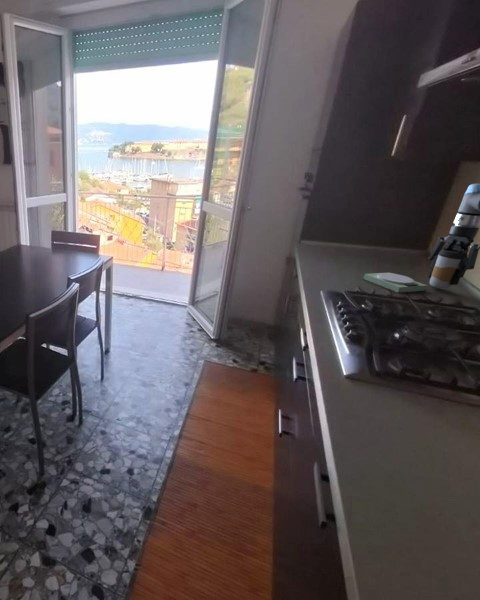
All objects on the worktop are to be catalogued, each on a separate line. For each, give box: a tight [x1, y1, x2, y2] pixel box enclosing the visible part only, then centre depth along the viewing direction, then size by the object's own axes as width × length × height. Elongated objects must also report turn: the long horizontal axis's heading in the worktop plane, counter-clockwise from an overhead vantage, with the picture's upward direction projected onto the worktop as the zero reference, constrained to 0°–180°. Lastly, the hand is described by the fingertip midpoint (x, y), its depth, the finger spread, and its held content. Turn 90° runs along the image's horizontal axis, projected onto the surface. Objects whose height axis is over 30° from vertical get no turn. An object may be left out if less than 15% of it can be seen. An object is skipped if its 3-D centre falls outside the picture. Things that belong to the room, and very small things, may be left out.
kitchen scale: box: [363, 271, 428, 294], centre depth 152 cm, size 16×13×3 cm
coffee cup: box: [429, 248, 468, 290], centre depth 144 cm, size 8×8×15 cm
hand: (442, 280), depth 147 cm, fingers closed on coffee cup, 7 cm apart
